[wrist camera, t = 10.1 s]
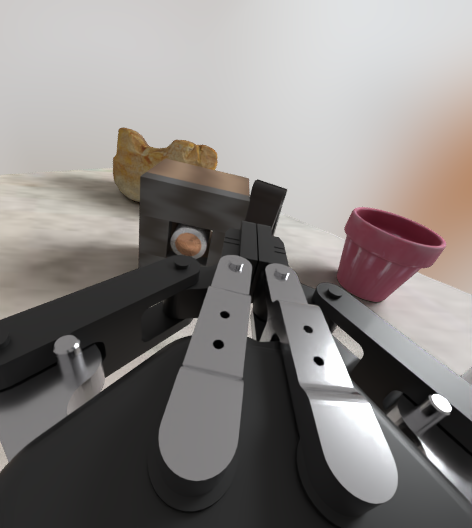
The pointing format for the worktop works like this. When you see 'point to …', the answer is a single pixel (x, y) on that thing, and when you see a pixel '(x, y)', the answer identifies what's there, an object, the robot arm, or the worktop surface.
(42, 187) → the worktop surface
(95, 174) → the worktop surface
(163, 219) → the housing
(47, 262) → the worktop surface
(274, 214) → the phone stand
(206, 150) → the rough brown rock
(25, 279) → the worktop surface
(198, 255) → the peg
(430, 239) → the plant pot
